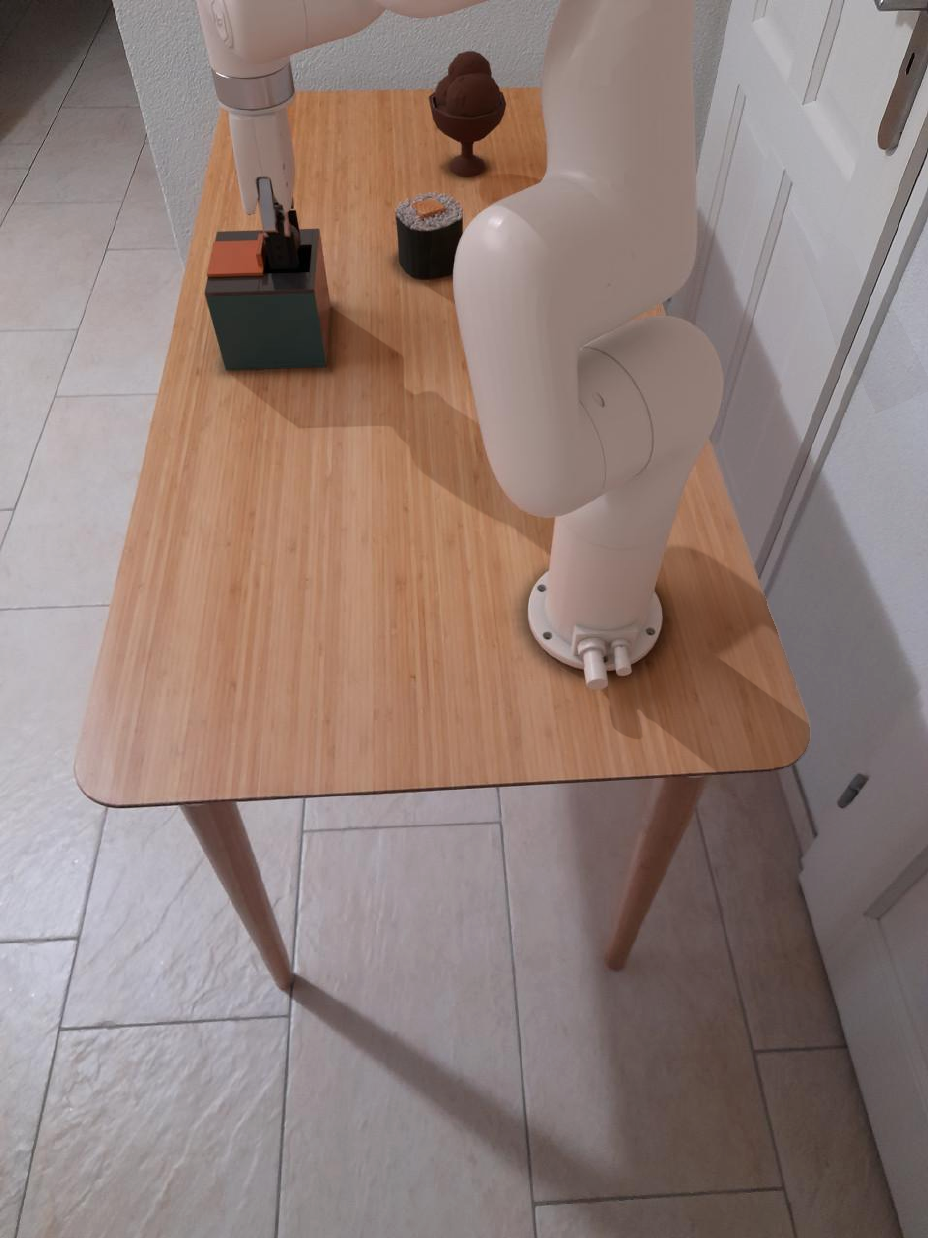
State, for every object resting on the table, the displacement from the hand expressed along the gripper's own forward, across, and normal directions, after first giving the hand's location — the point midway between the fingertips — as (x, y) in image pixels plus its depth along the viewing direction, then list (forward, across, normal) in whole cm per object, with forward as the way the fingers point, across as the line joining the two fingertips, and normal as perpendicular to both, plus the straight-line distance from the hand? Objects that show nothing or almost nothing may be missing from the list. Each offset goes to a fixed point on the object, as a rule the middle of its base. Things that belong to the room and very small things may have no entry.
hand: (285, 254), depth 100 cm
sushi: (+11, -15, +16) cm, 25 cm away
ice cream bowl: (+11, -39, +22) cm, 46 cm away
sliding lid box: (+11, 0, -2) cm, 11 cm away
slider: (0, 0, -5) cm, 5 cm away
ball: (-2, 0, 0) cm, 2 cm away
